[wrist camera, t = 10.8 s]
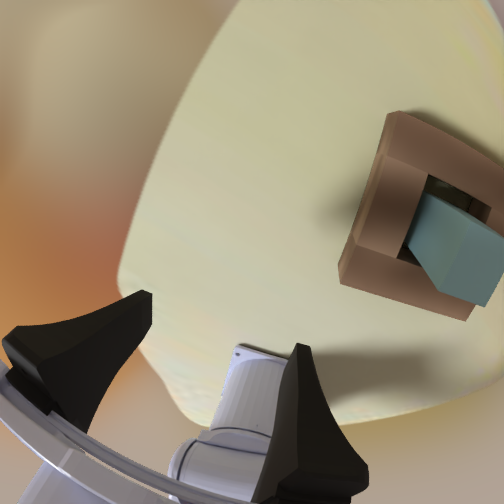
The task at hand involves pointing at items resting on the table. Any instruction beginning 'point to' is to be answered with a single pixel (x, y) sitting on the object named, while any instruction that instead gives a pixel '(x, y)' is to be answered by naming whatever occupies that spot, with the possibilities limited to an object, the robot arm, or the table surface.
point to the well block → (404, 206)
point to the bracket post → (456, 250)
